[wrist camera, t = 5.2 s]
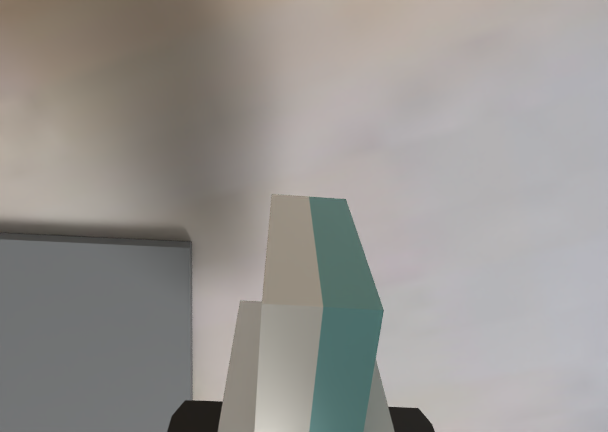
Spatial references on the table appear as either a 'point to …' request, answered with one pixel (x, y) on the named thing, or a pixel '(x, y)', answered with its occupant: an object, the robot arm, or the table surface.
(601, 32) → the table surface
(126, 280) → the mat
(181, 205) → the table surface
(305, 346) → the tile
